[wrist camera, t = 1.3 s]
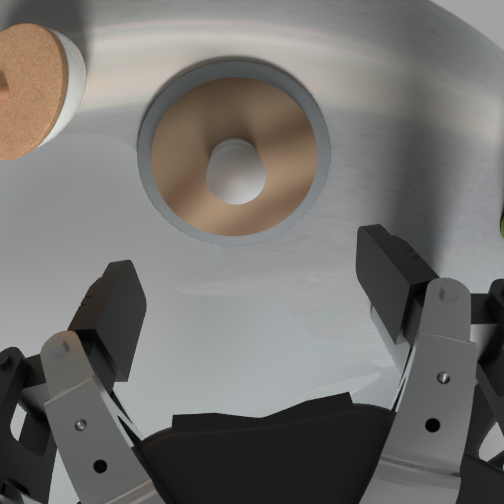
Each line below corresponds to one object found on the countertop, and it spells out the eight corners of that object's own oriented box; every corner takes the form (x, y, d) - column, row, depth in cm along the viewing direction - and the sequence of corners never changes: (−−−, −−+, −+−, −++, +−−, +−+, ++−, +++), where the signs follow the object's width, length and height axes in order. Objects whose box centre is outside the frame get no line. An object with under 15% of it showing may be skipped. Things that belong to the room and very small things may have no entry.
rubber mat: (360, 175, 27) (362, 177, 27) (220, 272, 32) (220, 275, 31) (253, 25, 20) (253, 23, 19) (103, 149, 24) (101, 150, 24)
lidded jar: (75, 11, 17) (19, -8, 9) (124, 93, 22) (76, 98, 14) (1, 84, 19) (-61, 96, 11) (44, 161, 24) (-13, 194, 16)
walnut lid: (342, 173, 27) (369, 195, 21) (222, 257, 30) (222, 295, 25) (250, 46, 21) (256, 32, 15) (122, 151, 24) (96, 168, 19)
